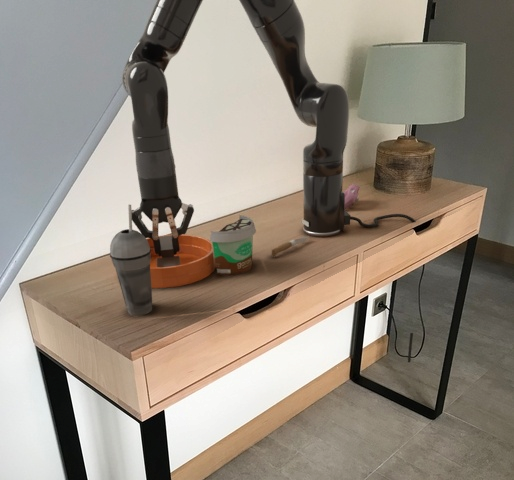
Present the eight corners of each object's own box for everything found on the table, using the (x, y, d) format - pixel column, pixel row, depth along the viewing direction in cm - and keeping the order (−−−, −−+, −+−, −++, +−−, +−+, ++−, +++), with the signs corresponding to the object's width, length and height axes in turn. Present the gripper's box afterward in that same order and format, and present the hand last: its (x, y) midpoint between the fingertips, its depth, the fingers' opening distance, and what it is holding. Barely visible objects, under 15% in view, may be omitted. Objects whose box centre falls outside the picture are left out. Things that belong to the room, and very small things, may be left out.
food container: (239, 283, 117) (235, 235, 112) (213, 278, 120) (209, 231, 115) (267, 262, 126) (266, 217, 121) (243, 258, 129) (240, 214, 124)
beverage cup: (122, 304, 111) (104, 200, 101) (161, 301, 111) (145, 197, 101) (118, 321, 105) (97, 213, 95) (158, 318, 105) (142, 209, 95)
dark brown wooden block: (178, 245, 130) (176, 234, 128) (181, 269, 117) (179, 257, 116) (156, 248, 129) (154, 236, 128) (157, 272, 117) (155, 260, 115)
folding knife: (306, 240, 137) (306, 231, 136) (312, 241, 136) (312, 233, 135) (269, 257, 129) (269, 248, 128) (274, 258, 128) (274, 250, 127)
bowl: (211, 249, 135) (209, 230, 133) (220, 283, 117) (219, 262, 115) (123, 258, 132) (120, 239, 130) (120, 294, 115) (116, 273, 113)
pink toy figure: (349, 217, 155) (362, 194, 152) (334, 209, 155) (346, 186, 152) (351, 206, 164) (363, 184, 160) (337, 199, 164) (349, 176, 160)
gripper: (120, 179, 111) (134, 264, 119) (192, 173, 112) (201, 257, 121) (121, 171, 117) (135, 251, 126) (190, 164, 119) (199, 245, 127)
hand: (167, 254), depth 123 cm, fingers closed on dark brown wooden block, 2 cm apart
